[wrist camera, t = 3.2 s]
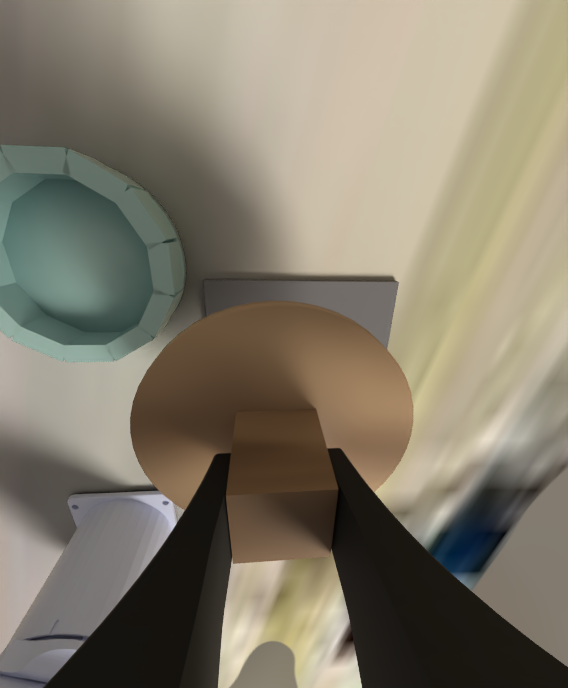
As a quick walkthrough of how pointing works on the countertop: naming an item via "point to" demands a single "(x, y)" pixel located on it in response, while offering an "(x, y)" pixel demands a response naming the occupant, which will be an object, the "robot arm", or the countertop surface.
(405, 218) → the countertop surface
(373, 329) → the mat
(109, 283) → the bowl
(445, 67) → the countertop surface
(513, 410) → the countertop surface
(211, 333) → the lid
